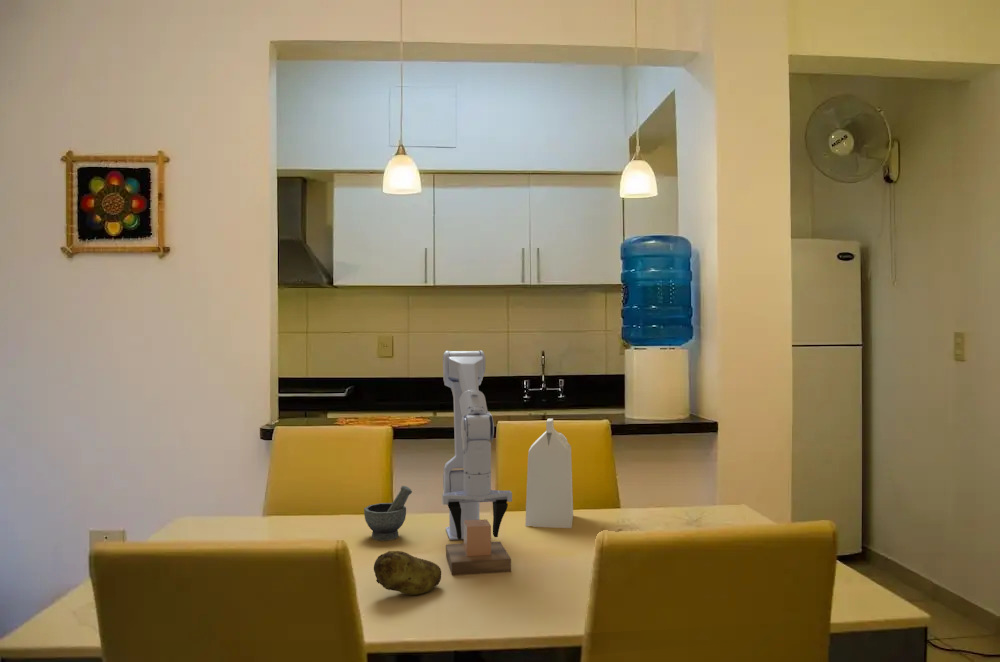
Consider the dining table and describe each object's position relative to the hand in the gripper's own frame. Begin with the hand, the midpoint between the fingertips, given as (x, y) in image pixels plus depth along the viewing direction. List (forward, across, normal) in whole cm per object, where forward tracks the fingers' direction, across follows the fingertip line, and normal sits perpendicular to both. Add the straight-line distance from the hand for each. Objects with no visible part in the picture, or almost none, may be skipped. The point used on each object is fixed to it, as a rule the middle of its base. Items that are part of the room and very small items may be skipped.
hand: (477, 536), depth 146 cm
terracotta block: (+3, 0, 0) cm, 3 cm away
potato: (+6, -15, -14) cm, 21 cm away
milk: (+6, +23, +30) cm, 38 cm away
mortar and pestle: (+6, -18, +23) cm, 30 cm away
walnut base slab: (+6, 0, 0) cm, 6 cm away
